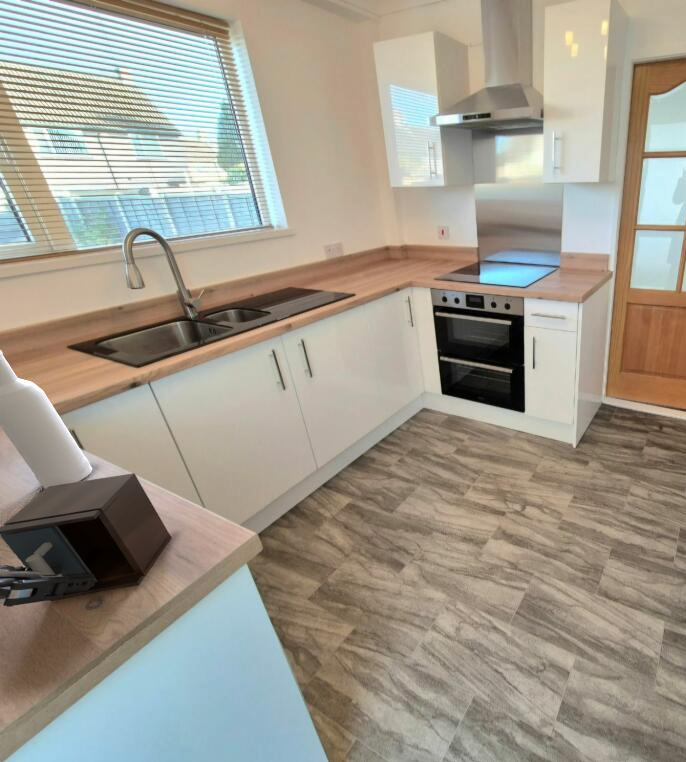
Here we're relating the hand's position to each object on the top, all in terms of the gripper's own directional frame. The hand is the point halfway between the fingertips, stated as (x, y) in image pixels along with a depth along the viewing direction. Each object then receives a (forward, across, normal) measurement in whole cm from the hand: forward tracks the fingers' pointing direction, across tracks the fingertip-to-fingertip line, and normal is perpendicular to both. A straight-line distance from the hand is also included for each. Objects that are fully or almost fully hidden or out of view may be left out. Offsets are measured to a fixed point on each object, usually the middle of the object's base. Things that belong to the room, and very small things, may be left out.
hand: (73, 578), depth 61 cm
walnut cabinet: (+8, +4, -1) cm, 9 cm away
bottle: (+19, +39, -13) cm, 45 cm away
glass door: (+2, +4, +3) cm, 5 cm away
